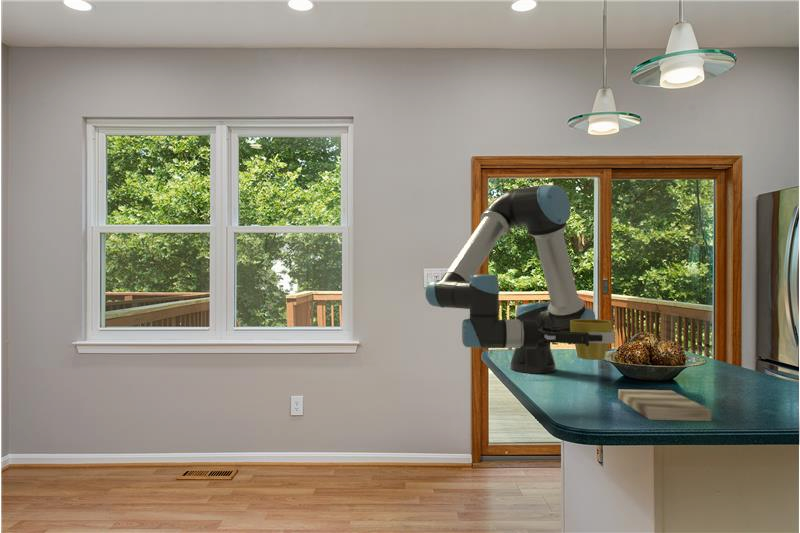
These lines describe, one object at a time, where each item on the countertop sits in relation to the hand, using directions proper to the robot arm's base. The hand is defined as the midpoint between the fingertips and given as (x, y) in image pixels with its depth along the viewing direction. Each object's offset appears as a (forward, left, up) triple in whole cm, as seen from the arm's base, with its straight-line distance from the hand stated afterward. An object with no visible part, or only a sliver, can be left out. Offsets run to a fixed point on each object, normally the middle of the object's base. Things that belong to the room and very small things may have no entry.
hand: (606, 335), depth 138 cm
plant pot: (0, -4, -6) cm, 7 cm away
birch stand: (+5, +12, -18) cm, 22 cm away
